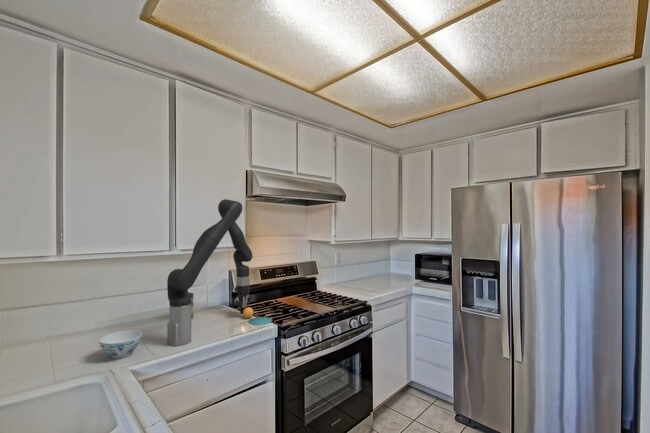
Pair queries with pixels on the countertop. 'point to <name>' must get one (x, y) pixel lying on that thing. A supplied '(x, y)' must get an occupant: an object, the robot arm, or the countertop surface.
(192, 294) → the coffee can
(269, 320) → the disc
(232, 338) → the countertop surface
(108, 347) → the chinaware
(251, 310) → the ball
